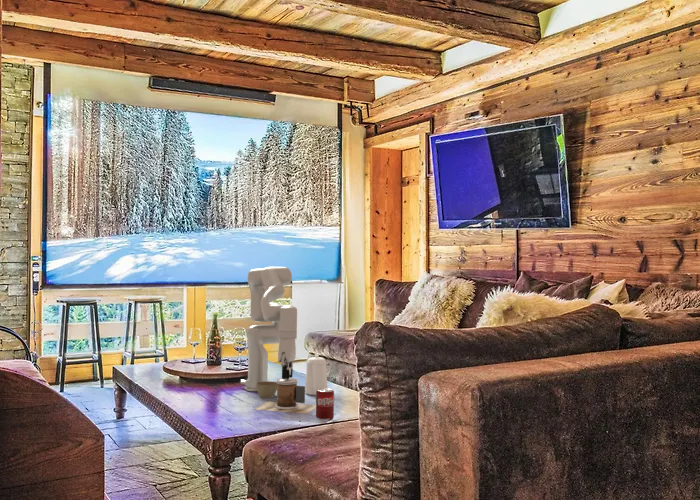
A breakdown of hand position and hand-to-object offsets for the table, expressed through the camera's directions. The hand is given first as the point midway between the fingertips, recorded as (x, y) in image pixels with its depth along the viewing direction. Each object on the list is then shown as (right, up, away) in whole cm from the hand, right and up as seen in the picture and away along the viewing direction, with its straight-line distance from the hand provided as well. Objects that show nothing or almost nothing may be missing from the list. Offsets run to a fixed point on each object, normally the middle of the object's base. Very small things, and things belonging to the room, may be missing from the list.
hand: (287, 377), depth 284 cm
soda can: (+17, -14, -15) cm, 26 cm away
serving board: (0, -14, 0) cm, 14 cm away
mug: (+1, -13, 0) cm, 13 cm away
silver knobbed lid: (0, -2, 0) cm, 2 cm away
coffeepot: (+11, -15, +34) cm, 39 cm away
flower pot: (-11, -14, +21) cm, 28 cm away
